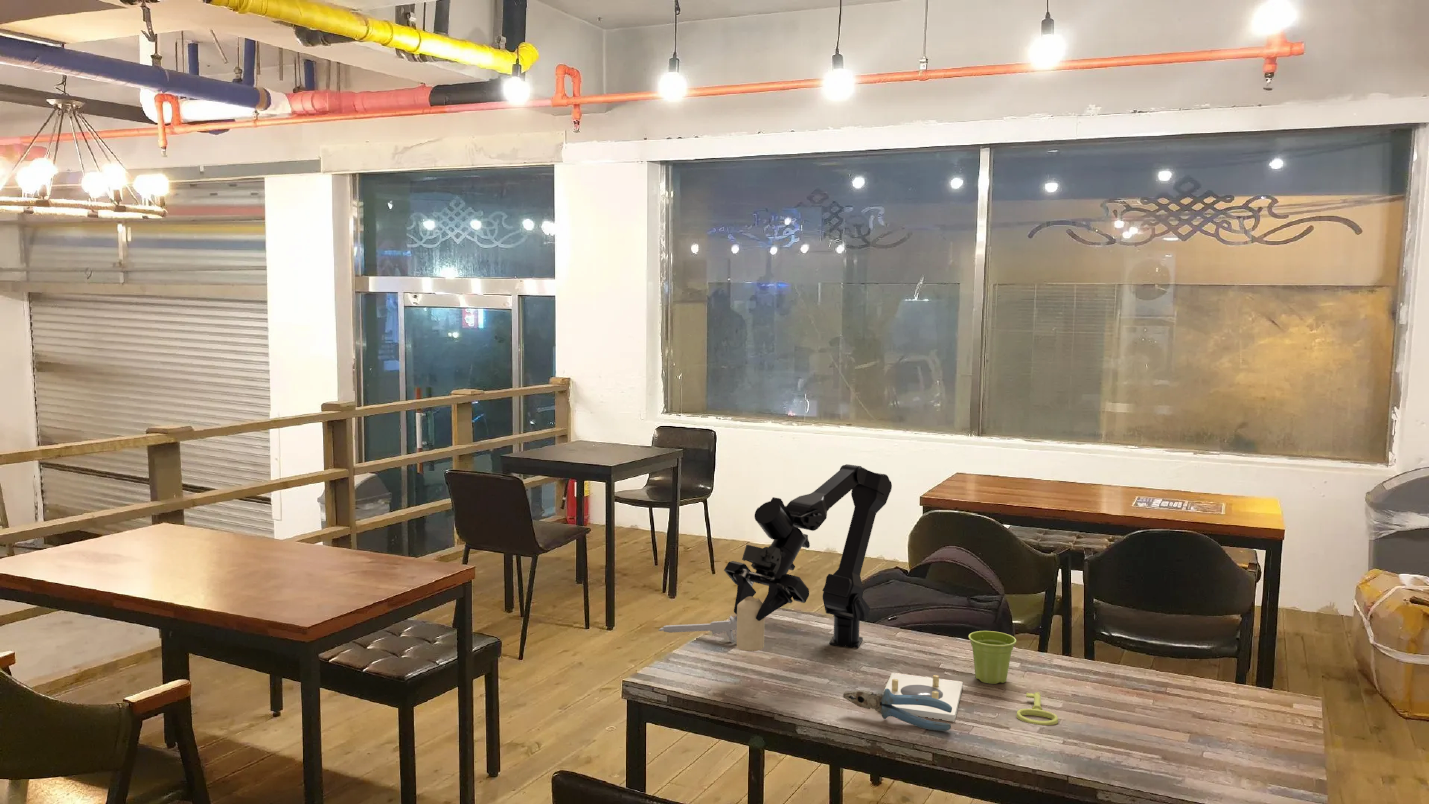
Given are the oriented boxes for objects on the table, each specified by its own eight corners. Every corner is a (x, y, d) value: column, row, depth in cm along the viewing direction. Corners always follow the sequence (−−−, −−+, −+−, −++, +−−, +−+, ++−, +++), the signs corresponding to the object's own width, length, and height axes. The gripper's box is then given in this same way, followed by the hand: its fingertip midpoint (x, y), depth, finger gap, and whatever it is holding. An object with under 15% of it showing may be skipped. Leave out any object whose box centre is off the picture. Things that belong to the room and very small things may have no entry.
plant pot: (963, 683, 204) (965, 641, 204) (970, 668, 213) (972, 628, 212) (1011, 690, 201) (1013, 647, 200) (1016, 675, 210) (1018, 634, 209)
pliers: (841, 713, 188) (842, 682, 187) (845, 709, 190) (846, 678, 189) (949, 736, 179) (950, 703, 178) (952, 731, 181) (953, 699, 180)
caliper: (741, 643, 227) (742, 616, 226) (739, 645, 226) (740, 617, 226) (660, 630, 235) (660, 604, 235) (658, 631, 234) (658, 605, 234)
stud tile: (891, 678, 206) (892, 663, 206) (962, 687, 202) (963, 671, 202) (877, 710, 189) (878, 694, 189) (954, 721, 185) (955, 704, 185)
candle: (735, 642, 206) (735, 594, 205) (762, 642, 207) (762, 594, 206) (738, 652, 201) (738, 602, 200) (765, 651, 201) (766, 602, 200)
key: (1039, 701, 197) (1039, 691, 196) (1061, 727, 184) (1062, 716, 184) (1002, 701, 196) (1002, 690, 196) (1021, 727, 184) (1022, 716, 184)
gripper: (730, 522, 211) (692, 584, 204) (801, 537, 198) (764, 604, 191) (754, 553, 217) (719, 614, 210) (825, 569, 204) (789, 635, 197)
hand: (746, 616), depth 202 cm, fingers closed on candle, 5 cm apart
